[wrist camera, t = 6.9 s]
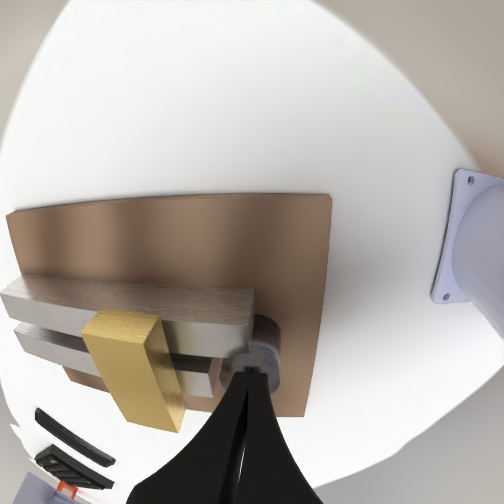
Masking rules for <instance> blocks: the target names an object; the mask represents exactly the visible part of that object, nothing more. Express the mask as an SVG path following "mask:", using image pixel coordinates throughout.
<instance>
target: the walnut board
mask: <svg viewBox="0 0 504 504" xmlns="http://www.w3.org/2000/svg"><path fill="white" fill-rule="evenodd" d="M331 207H332V199H331V198H330V196H329V195H324V194H267V193H259V194H202V195H177V196H158V197H142V198H128V199H115V200H104V201H93V202H83V203H74V204H65V205H57V206H49V207H41V208H34V209H27V210H20V211H14V212H12V213H10V214H8V215H6V220H7V224H8V229H9V233H10V237H11V241H12V244H13V248H14V252H15V255H16V258H17V262H18V265H19V268H20V271H21V274H22V275H23V274H24V273H27V274H36V275H46V276H56V277H67V278H78V279H90V280H102V281H115V282H130V283H145V284H163V285H182V286H205V287H233V288H254V296H255V314H259V315H263V316H266V317H269V318H270V319H272V320H273V321H275V322H276V324H277V325H278V326H279V328H280V331H281V355H280V385H279V387H278V389H277V390H276V391H275V392H274V393H273V394H271V395H270V397H271V401H272V405H273V409H274V412H275V416H276V417H304V414H305V409H306V404H307V399H308V394H309V389H310V383H311V378H312V372H313V367H314V361H315V355H316V348H317V342H318V335H319V328H320V321H321V314H322V306H323V298H324V290H325V281H326V271H327V261H328V250H329V237H330V224H331ZM222 362H223V358H222ZM221 366H222V363H221ZM63 368H64V370H65V372H66V373H67V375H68V377H69V378H70V380H71V381H73V382H76V383H79V384H82V385H85V386H88V387H91V388H95V389H98V390H101V391H105V392H108V393H110V392H109V390H108V388H107V386H106V385H105V383H104V381H103V379H102V377H99V376H95V375H91V374H88V373H85V372H81V371H78V370H75V369H72V368H68V367H65V366H63ZM220 371H221V367H220ZM220 371H219V375H220ZM219 375H218V379H217V383H216V388H215V392H214V396H213V398H210V397H201V396H194V395H186V394H182V396H183V399H184V401H185V404H186V409H189V410H196V411H203V412H211V413H213V412H214V410H215V409H216V407H217V405H218V404H219V402H220V401H221V399H222V397H223V395H224V394H225V392H226V389H224V387H223V386H222V385H221V383H220V380H219Z"/></svg>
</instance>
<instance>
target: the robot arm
mask: <svg viewBox="0 0 504 504" xmlns="http://www.w3.org/2000/svg"><path fill="white" fill-rule="evenodd" d="M469 177H470V178H471V180H470V183H468V178H469ZM445 294H446V296H444V295H445ZM443 296H444V297H443ZM431 299H432V301H433V302H434V303H435V304H444V303H456V302H467V301H472V303H473V304H474V305H475V306H476V307H477V308H478V310H479V311H480V312H481V313H482V314H483V316H484V317H485V318H486V319H487V320H488V322H489V323H490V324H491V325H492V327H493V328H494V329H495V330H496V332H497V333H498V334H499V336H500V337H501V338H502V339H503V341H504V178H500V177H496V176H492V175H488V174H483V173H479V172H474V171H470V170H465V169H459V170H458V171H457V172H456V174H455V179H454V188H453V197H452V204H451V211H450V217H449V223H448V228H447V234H446V239H445V244H444V248H443V253H442V257H441V261H440V265H439V269H438V273H437V277H436V281H435V284H434V288H433V291H432V295H431ZM245 443H246V444H245ZM244 448H245V450H244ZM243 452H244V456H243ZM242 457H243V462H242V468H241V473H240V467H241V461H242ZM239 474H240V478H239ZM13 504H81V503H79V502H77V501H75V500H73V499H71V498H70V497H68V496H66V495H64V494H62V493H61V492H59V491H57V490H55V488H53V487H52V486H50V485H49V484H48V483H46V482H44V481H43V480H41V479H40V478H38V477H37V476H35V475H33V474H32V473H31V472H28V473H27V475H26V477H25V479H24V481H23V483H22V485H21V487H20V489H19V491H18V493H17V495H16V497H15V499H14V502H13ZM126 504H323V503H322V501H321V500H320V499H319V497H318V496H317V495H316V494H315V492H314V491H313V489H312V488H311V486H310V485H309V484H308V482H307V481H306V479H305V477H304V476H303V474H302V472H301V471H300V469H299V467H298V466H297V464H296V462H295V461H294V459H293V457H292V455H291V453H290V451H289V449H288V447H287V444H286V442H285V440H284V438H283V435H282V433H281V430H280V427H279V425H278V422H277V419H276V416H275V412H274V409H273V405H272V401H271V397H270V392H269V384H268V374H267V373H256V372H235V373H234V375H233V377H232V380H231V382H230V384H229V386H228V388H227V390H226V392H225V394H224V395H223V397H222V399H221V401H220V402H219V404H218V405H217V407H216V409H215V410H214V412H213V413H212V415H211V416H210V417H209V419H208V420H207V422H206V423H205V424H204V426H203V427H202V428H201V429H200V431H199V432H198V433H197V434H196V435H195V437H194V438H193V439H192V440H191V441H190V442H189V443H188V444H187V445H186V446H185V447H184V448H183V449H182V450H181V451H180V452H179V453H178V454H177V455H176V456H175V457H174V458H173V459H172V460H170V461H169V462H168V463H167V464H165V465H164V466H163V467H162V468H160V469H159V470H158V471H157V472H155V473H154V474H152V475H151V476H149V477H148V478H146V479H145V480H143V481H142V482H140V483H138V484H137V485H135V487H134V488H133V490H132V491H131V493H130V495H129V497H128V499H127V502H126Z"/></svg>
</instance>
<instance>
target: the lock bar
mask: <svg viewBox="0 0 504 504" xmlns="http://www.w3.org/2000/svg"><path fill="white" fill-rule="evenodd" d="M80 333H81V335H82V337H83V340H84V342H85V344H86V346H87V348H88V351H89V353H90V355H91V357H92V359H93V361H94V363H95V365H96V367H97V369H98V371H99V373H100V375H101V377H102V379H103V381H104V383H105V385H106V386H107V388H108V390H109V392H110V394H111V395H112V397H113V399H114V401H115V402H116V404H117V406H118V407H119V409H120V411H121V412H122V414H123V416H124V417H125V419H126V420H127V421H128V422H132V423H135V424H139V425H143V426H147V427H152V428H156V429H161V430H165V431H170V432H175V433H179V429H180V426H181V423H182V420H183V417H184V413H185V410H186V404H185V401H184V399H183V396H182V392H181V389H180V386H179V383H178V380H177V377H176V373H175V370H174V367H173V363H172V360H171V357H170V353H169V349H168V346H167V342H166V338H165V335H164V331H163V327H162V323H161V319H160V315H153V314H143V313H134V312H125V311H117V310H109V309H102V308H101V309H100V310H99V311H98V312H97V313H96V315H95V316H94V317H93V318H92V319H91V320H90V322H89V323H88V324H87V325H86V326H85V328H84V329H83V330H82V331H81V332H80Z"/></svg>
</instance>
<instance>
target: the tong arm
mask: <svg viewBox="0 0 504 504" xmlns="http://www.w3.org/2000/svg"><path fill="white" fill-rule="evenodd" d="M14 332H15V334H16V336H17V338H18V340H19V342H20V344H21V346H22V348H23V349H24V351H25V352H27V353H30V354H32V355H35V356H37V357H40V358H43V359H45V360H48V361H51V362H54V363H57V364H59V365H62V366H65V367H68V368H72V369H75V370H78V371H81V372H85V373H88V374H91V375H95V376H99V377H101V375H100V373H99V371H98V369H97V367H96V365H95V363H94V361H93V359H92V357H91V355H90V353H89V351H88V348H87V346H86V344H85V342H84V340H83V337H78V336H74V335H70V334H66V333H62V332H58V331H54V330H50V329H47V328H43V327H39V326H36V325H32V324H29V323H26V322H23V321H22V322H21V323H20V324H19V325H18V326H17V327H16V328H15V329H14ZM170 357H171V360H172V363H173V367H174V370H175V373H176V377H177V380H178V383H179V386H180V389H181V392H182V394H186V395H194V396H201V397H210V398H213V396H214V392H215V388H216V383H217V379H218V375H219V371H220V367H221V363H222V358H218V357H206V356H195V355H186V354H177V353H170Z"/></svg>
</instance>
